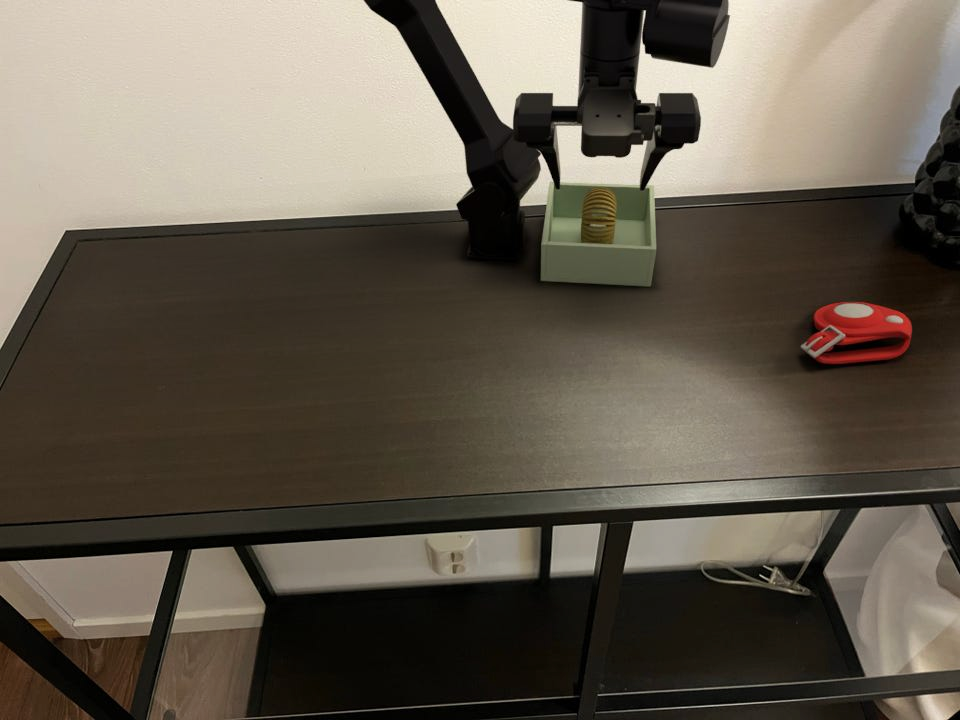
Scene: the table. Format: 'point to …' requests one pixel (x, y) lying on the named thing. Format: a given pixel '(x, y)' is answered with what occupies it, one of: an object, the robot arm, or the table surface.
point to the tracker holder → (857, 332)
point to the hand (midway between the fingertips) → (599, 188)
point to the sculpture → (593, 198)
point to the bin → (594, 262)
